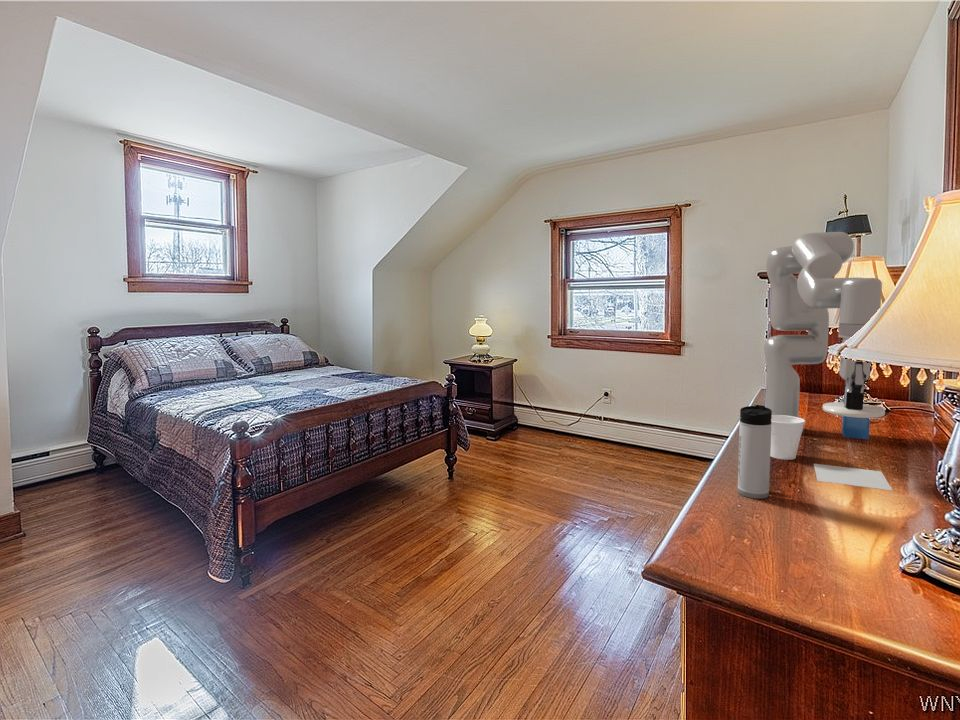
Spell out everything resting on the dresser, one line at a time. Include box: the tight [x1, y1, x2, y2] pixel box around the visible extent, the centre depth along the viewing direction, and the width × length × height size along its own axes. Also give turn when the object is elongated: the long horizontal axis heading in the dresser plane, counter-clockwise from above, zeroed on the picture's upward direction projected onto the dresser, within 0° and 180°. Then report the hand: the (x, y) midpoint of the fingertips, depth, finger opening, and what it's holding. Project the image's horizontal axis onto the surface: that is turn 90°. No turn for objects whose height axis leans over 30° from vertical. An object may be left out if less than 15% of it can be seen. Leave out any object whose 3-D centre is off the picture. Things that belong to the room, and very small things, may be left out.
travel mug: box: [737, 404, 772, 500], centre depth 112 cm, size 6×7×20 cm
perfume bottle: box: [841, 402, 871, 440], centre depth 156 cm, size 6×6×12 cm
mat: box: [813, 463, 894, 491], centre depth 121 cm, size 14×14×1 cm
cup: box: [770, 415, 806, 461], centre depth 137 cm, size 10×10×11 cm
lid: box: [822, 385, 886, 419], centre depth 119 cm, size 12×12×6 cm
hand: (852, 406), depth 119 cm, fingers closed on lid, 3 cm apart
